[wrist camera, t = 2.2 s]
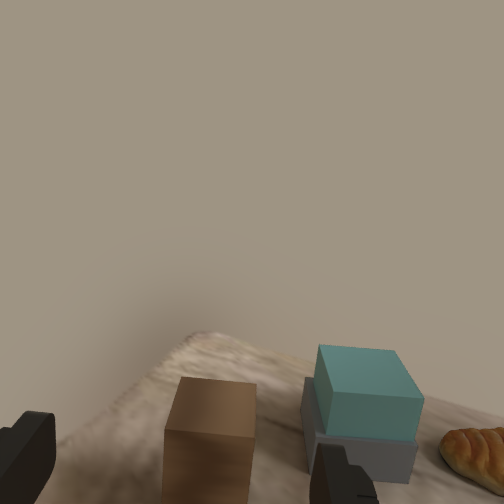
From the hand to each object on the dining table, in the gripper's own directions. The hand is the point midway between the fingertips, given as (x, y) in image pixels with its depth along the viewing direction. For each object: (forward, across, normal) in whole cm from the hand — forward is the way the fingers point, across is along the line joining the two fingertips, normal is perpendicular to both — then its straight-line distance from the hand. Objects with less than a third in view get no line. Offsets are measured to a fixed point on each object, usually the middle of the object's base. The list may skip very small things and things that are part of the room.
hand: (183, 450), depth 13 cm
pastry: (+19, -25, +17) cm, 36 cm away
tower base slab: (+21, -12, +17) cm, 29 cm away
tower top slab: (+21, -12, +13) cm, 27 cm away
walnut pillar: (+11, 0, +17) cm, 20 cm away
